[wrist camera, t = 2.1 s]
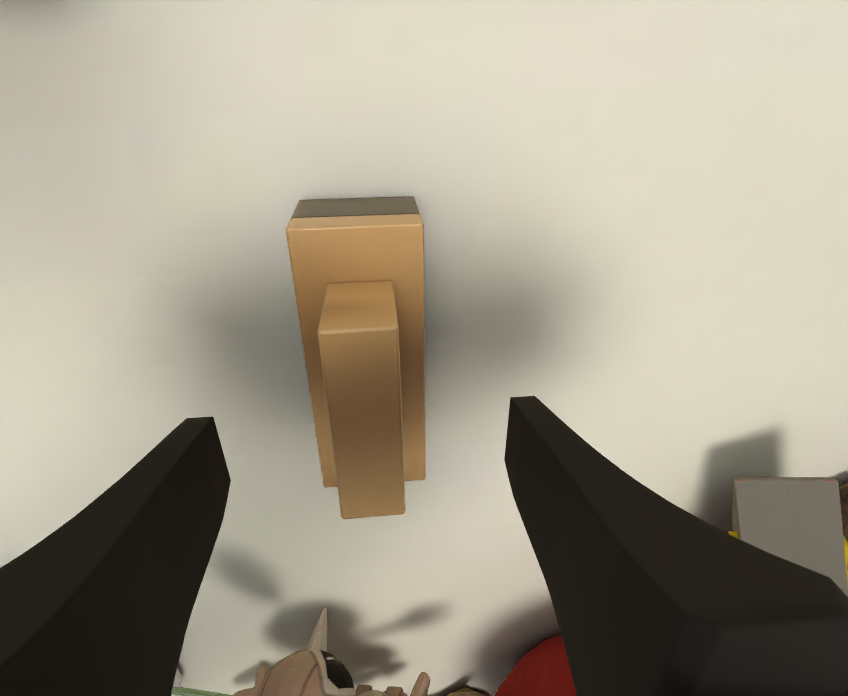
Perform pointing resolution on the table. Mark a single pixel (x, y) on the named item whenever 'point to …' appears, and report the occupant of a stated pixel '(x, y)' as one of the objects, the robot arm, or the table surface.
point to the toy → (311, 675)
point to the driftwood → (465, 693)
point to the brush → (363, 344)
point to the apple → (541, 672)
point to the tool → (794, 522)
